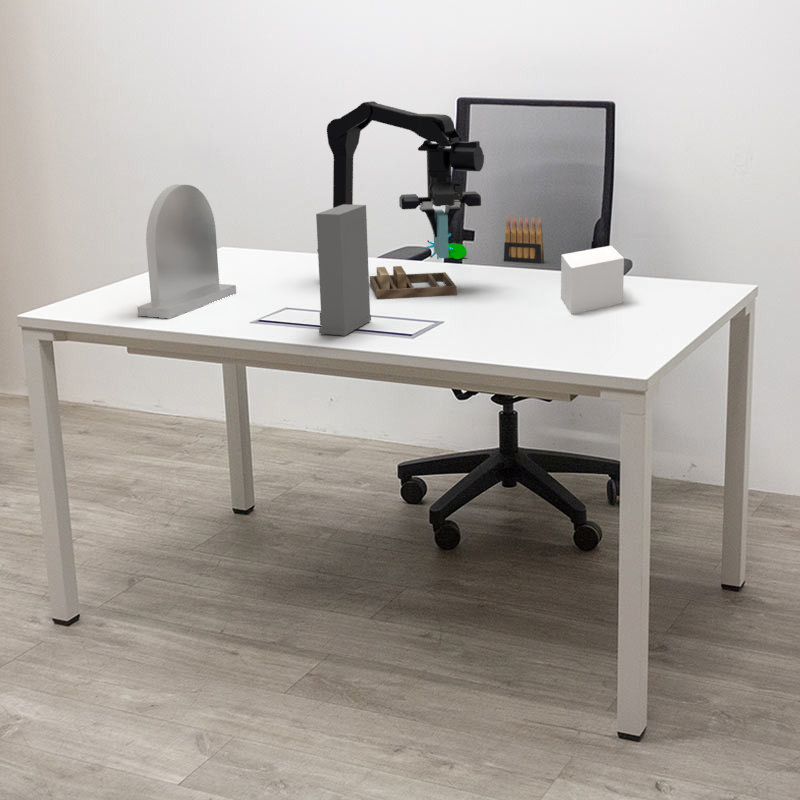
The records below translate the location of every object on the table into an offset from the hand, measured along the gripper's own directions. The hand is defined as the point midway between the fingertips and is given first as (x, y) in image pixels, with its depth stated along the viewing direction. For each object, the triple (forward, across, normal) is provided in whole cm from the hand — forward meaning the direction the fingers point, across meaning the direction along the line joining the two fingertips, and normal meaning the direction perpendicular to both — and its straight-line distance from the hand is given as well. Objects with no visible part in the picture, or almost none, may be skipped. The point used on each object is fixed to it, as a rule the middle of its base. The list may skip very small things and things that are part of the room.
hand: (440, 236), depth 295 cm
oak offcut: (+12, -10, 0) cm, 16 cm away
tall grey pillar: (+12, -26, -36) cm, 46 cm away
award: (+12, -60, -4) cm, 62 cm away
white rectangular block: (+13, +31, -22) cm, 40 cm away
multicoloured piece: (+13, +8, +40) cm, 43 cm away
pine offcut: (+12, -14, 0) cm, 19 cm away
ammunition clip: (+13, +26, +28) cm, 40 cm away
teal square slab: (+4, 0, 0) cm, 4 cm away
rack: (+12, -7, 0) cm, 14 cm away
